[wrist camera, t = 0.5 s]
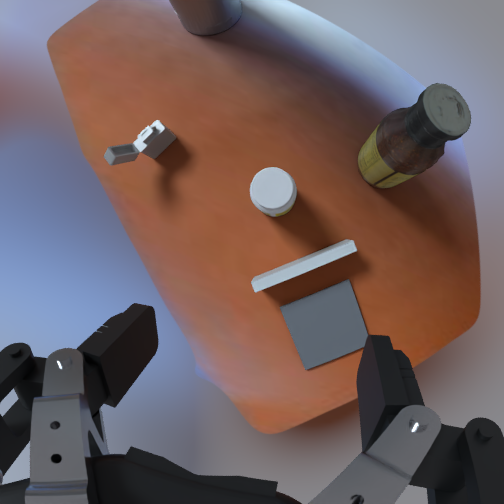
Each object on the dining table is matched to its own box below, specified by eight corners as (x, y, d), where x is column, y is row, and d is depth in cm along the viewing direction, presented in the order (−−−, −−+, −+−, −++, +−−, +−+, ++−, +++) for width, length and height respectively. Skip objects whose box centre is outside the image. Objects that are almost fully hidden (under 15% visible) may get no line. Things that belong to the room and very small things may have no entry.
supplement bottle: (296, 179, 37) (300, 166, 28) (293, 218, 37) (295, 215, 29) (257, 176, 37) (249, 161, 29) (253, 214, 38) (244, 210, 29)
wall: (254, 276, 38) (250, 282, 34) (345, 239, 37) (353, 240, 33) (258, 286, 38) (255, 292, 34) (349, 248, 37) (357, 250, 33)
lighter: (169, 129, 38) (144, 108, 30) (177, 137, 38) (153, 118, 30) (131, 166, 39) (100, 154, 31) (138, 175, 39) (107, 164, 31)
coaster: (280, 306, 38) (279, 308, 37) (348, 279, 37) (349, 279, 36) (305, 368, 38) (305, 369, 38) (369, 342, 37) (370, 343, 37)
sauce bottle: (407, 157, 35) (496, 105, 15) (390, 199, 36) (480, 174, 16) (363, 131, 35) (425, 54, 16) (344, 173, 36) (402, 120, 16)
